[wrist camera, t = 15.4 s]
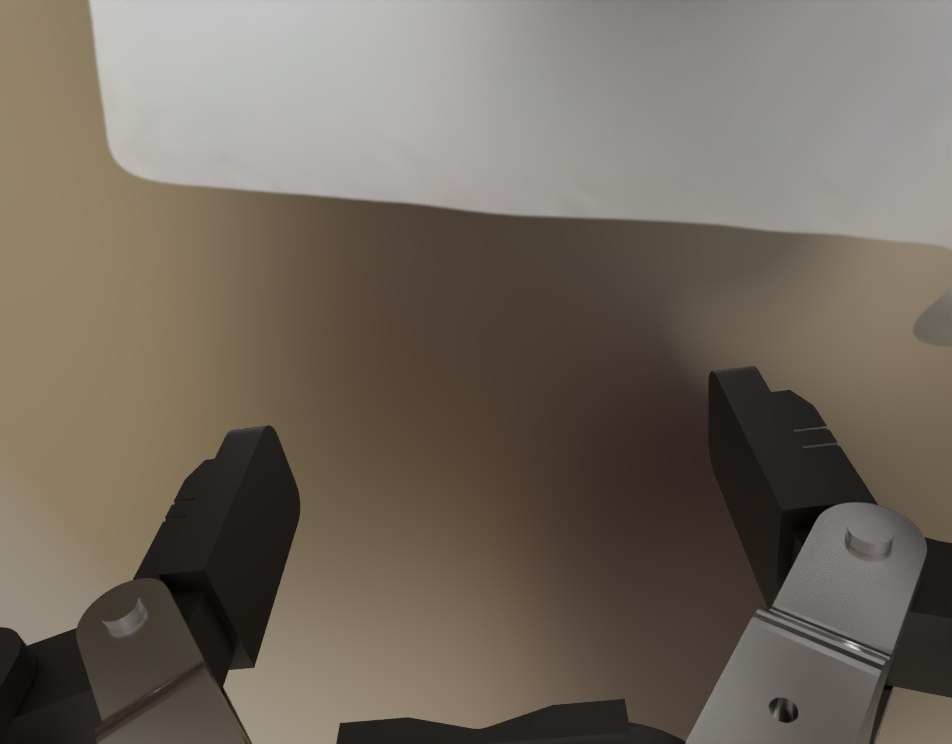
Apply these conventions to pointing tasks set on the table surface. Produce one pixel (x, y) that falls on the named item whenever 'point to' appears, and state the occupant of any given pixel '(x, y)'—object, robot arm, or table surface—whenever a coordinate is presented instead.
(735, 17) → the table surface
